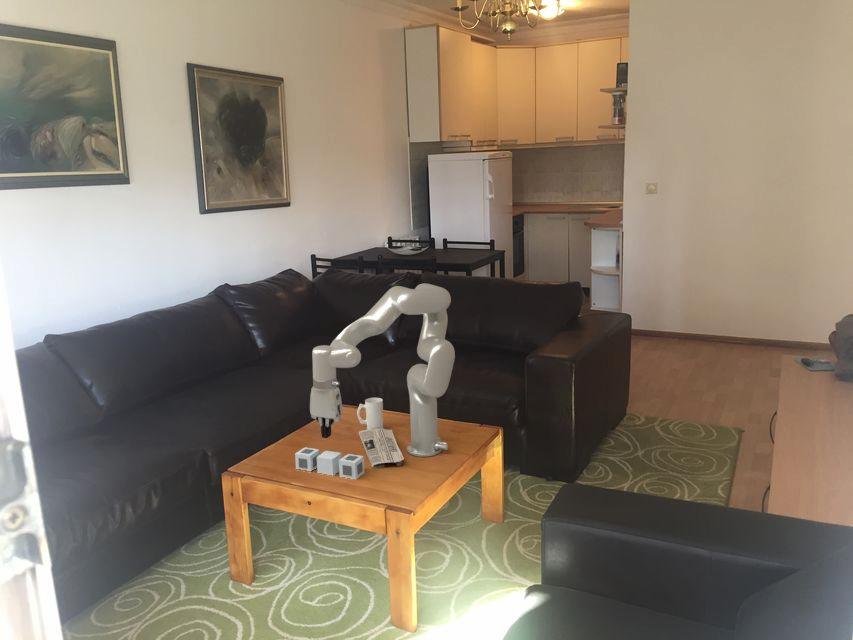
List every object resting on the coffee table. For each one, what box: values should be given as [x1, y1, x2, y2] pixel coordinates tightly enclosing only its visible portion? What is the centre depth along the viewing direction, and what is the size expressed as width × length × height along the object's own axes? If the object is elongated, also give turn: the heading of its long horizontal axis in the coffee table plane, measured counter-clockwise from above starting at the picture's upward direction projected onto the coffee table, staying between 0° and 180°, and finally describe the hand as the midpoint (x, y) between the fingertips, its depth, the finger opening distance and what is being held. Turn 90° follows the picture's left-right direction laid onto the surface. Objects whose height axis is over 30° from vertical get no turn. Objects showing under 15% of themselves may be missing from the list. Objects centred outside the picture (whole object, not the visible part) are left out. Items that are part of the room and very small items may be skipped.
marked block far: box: [294, 446, 321, 471], centre depth 250 cm, size 6×6×6 cm
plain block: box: [316, 450, 343, 477], centre depth 246 cm, size 6×6×6 cm
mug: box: [356, 397, 384, 430], centre depth 284 cm, size 10×7×12 cm, turn 98°
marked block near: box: [338, 453, 365, 481], centre depth 243 cm, size 6×6×6 cm
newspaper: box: [358, 427, 405, 470], centre depth 265 cm, size 35×12×4 cm, turn 13°
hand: (326, 436), depth 244 cm, fingers closed
